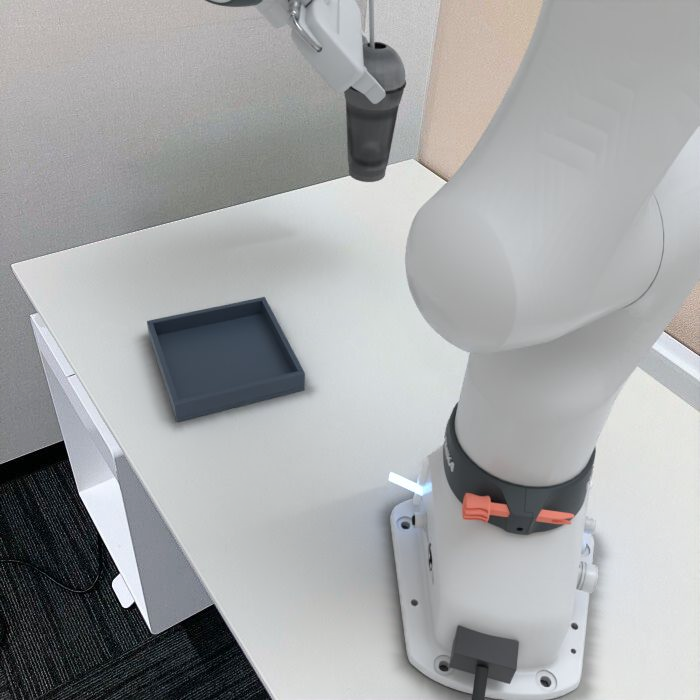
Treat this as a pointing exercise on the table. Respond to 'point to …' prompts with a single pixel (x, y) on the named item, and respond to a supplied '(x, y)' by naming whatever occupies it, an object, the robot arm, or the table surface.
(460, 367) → the table surface
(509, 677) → the robot arm
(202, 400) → the tray
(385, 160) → the beverage cup
